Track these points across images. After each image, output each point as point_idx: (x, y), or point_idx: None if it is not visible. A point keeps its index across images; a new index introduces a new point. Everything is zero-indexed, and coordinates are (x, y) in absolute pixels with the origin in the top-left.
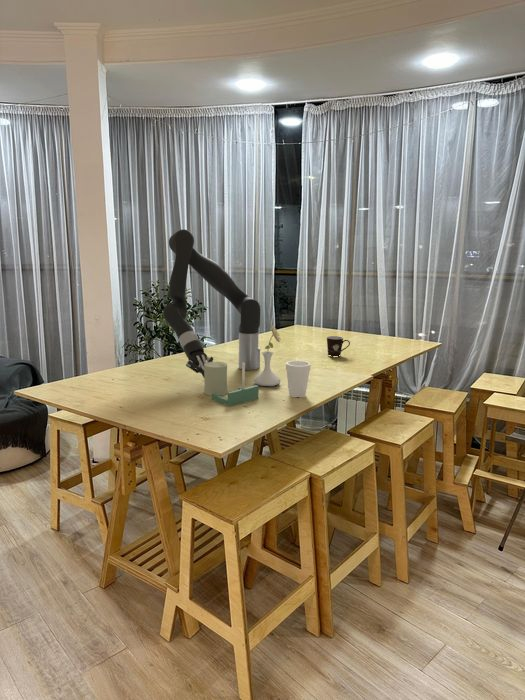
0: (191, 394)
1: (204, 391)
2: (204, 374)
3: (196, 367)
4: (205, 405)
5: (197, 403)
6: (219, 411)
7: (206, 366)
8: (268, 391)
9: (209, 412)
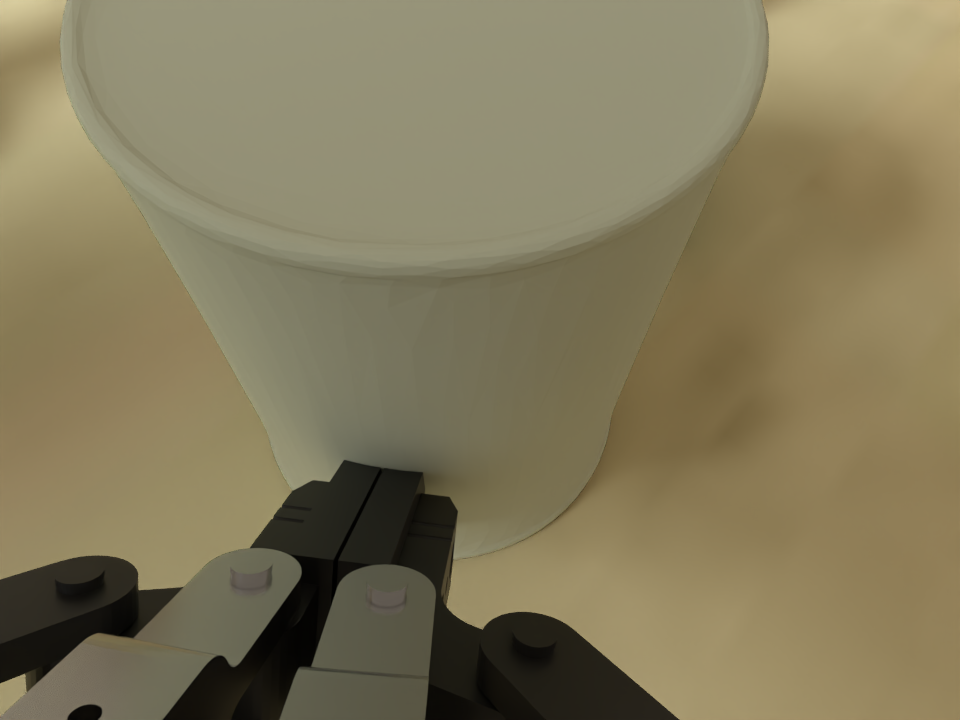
0: (774, 594)
1: (589, 469)
2: (650, 314)
3: (641, 709)
4: (850, 175)
5: (896, 267)
6: (824, 19)
7: (766, 20)
8: (28, 39)
9: (916, 51)
